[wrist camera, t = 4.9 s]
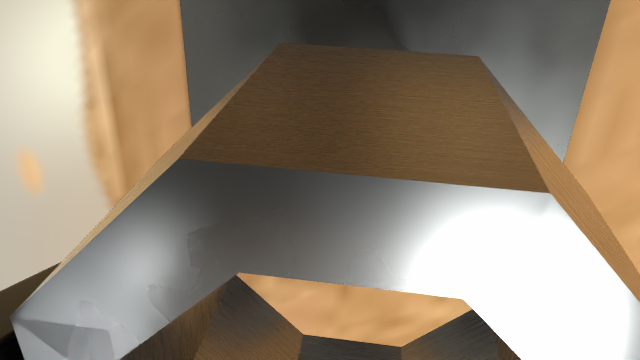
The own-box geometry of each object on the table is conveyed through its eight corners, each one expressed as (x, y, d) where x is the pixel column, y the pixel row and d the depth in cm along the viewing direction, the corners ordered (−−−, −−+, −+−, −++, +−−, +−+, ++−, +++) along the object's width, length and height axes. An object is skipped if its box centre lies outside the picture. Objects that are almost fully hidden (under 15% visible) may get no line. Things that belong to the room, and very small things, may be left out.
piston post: (626, -110, 13) (824, -124, 7) (523, 261, 19) (583, 430, 13) (182, -124, 14) (22, -147, 8) (211, 228, 20) (129, 368, 14)
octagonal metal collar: (628, 65, 7) (850, 221, 4) (517, 401, 10) (577, 650, 7) (148, 33, 8) (-54, 137, 4) (190, 356, 11) (94, 561, 8)
